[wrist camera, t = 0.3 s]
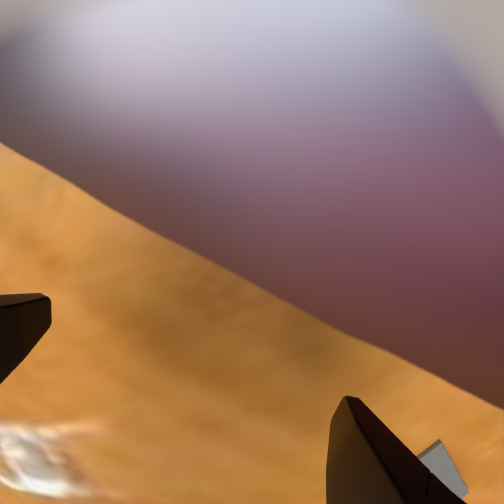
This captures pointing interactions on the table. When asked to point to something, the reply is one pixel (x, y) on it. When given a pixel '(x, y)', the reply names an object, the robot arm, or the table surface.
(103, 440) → the table surface
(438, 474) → the rubber mat
